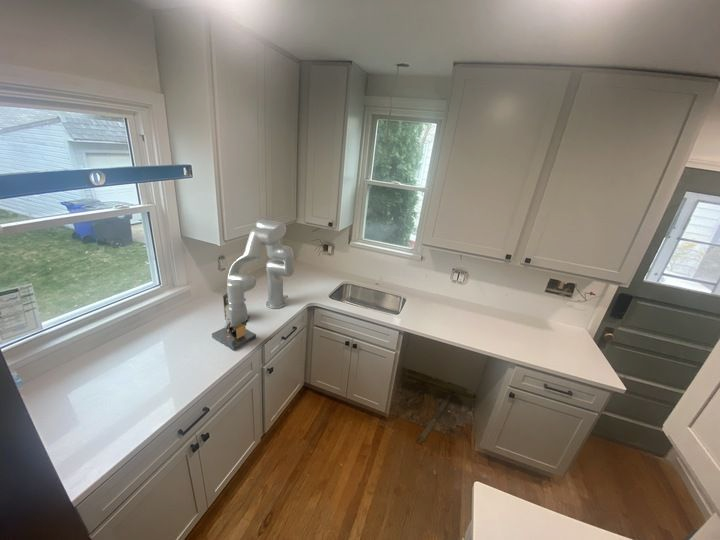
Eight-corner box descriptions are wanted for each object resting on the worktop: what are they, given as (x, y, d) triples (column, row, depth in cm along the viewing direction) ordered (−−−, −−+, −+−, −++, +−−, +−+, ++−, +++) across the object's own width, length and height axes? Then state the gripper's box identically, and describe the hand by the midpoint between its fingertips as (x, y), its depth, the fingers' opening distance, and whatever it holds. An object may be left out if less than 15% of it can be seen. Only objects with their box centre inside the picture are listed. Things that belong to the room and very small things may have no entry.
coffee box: (224, 319, 172) (222, 295, 167) (231, 314, 178) (229, 291, 172) (237, 323, 170) (235, 298, 164) (244, 317, 176) (243, 294, 170)
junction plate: (234, 326, 167) (234, 316, 165) (256, 338, 159) (255, 328, 156) (212, 337, 156) (210, 327, 153) (233, 350, 147) (232, 340, 145)
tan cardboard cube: (239, 330, 157) (239, 321, 155) (245, 334, 155) (245, 325, 153) (231, 334, 153) (230, 325, 151) (237, 338, 151) (237, 329, 149)
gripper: (245, 295, 156) (247, 324, 163) (216, 307, 142) (219, 338, 149) (255, 300, 152) (256, 329, 159) (226, 312, 139) (229, 344, 145)
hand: (238, 333), depth 154 cm, fingers closed on tan cardboard cube, 4 cm apart
